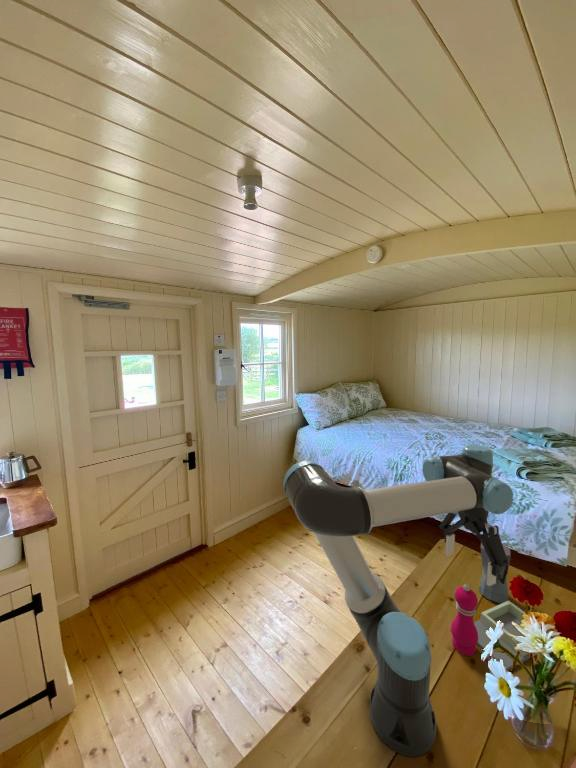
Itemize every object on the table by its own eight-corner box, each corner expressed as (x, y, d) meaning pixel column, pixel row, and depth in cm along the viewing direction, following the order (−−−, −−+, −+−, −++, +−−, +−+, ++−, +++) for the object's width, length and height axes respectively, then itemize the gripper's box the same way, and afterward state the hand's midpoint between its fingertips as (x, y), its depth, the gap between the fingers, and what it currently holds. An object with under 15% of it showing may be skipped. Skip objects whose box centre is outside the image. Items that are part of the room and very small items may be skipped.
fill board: (505, 671, 89) (506, 658, 89) (461, 630, 102) (462, 619, 102) (552, 645, 96) (554, 633, 96) (506, 610, 109) (507, 599, 109)
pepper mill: (452, 653, 95) (455, 591, 92) (448, 632, 101) (450, 574, 99) (480, 660, 92) (484, 596, 90) (474, 638, 99) (477, 578, 97)
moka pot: (497, 580, 123) (500, 531, 121) (522, 613, 108) (526, 558, 105) (470, 579, 124) (473, 530, 122) (491, 612, 109) (495, 556, 106)
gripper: (528, 518, 83) (521, 594, 85) (447, 480, 106) (443, 541, 108) (509, 524, 80) (502, 602, 82) (429, 484, 103) (426, 547, 105)
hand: (468, 568), depth 95 cm, fingers open, 13 cm apart
